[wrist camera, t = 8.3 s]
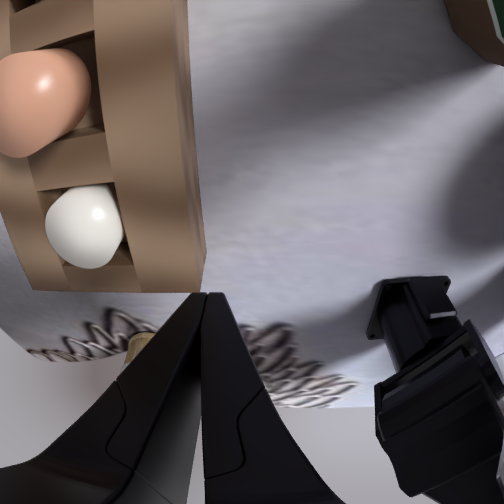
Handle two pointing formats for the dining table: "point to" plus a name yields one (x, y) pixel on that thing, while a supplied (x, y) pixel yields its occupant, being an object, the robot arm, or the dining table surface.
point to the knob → (86, 225)
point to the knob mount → (113, 144)
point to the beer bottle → (480, 26)
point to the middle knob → (40, 98)
